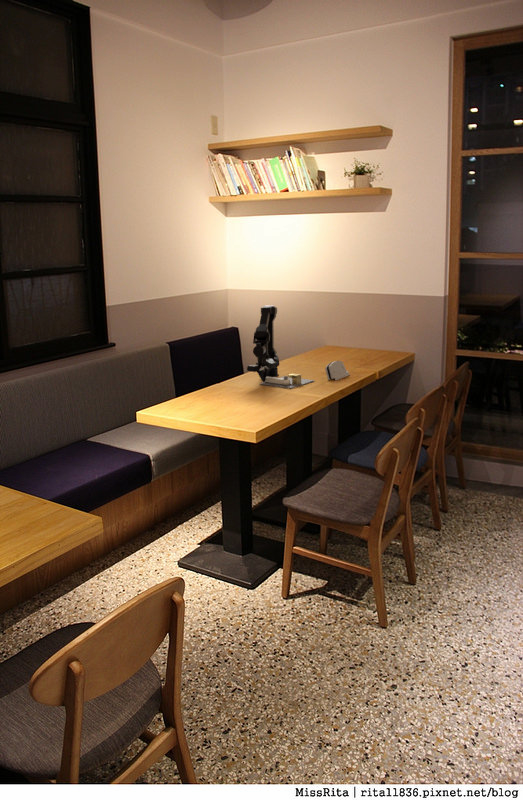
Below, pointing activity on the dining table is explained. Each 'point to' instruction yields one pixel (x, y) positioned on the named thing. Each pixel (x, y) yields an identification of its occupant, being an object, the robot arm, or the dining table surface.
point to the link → (278, 380)
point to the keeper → (295, 378)
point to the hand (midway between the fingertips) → (263, 381)
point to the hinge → (336, 370)
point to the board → (290, 386)
